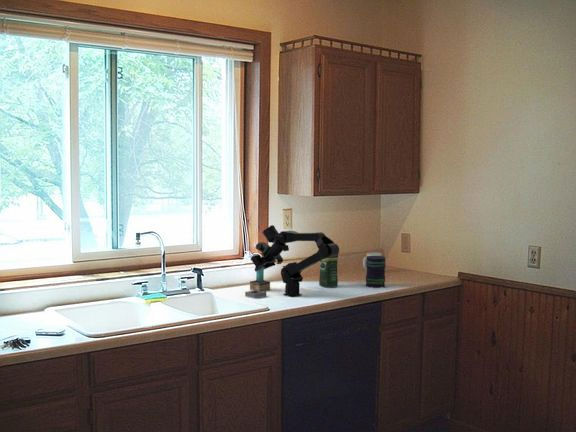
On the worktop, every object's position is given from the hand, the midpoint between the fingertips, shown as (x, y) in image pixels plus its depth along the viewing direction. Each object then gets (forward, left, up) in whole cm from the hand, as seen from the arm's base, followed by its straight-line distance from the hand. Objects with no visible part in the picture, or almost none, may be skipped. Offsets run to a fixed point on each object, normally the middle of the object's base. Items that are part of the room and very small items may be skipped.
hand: (257, 270), depth 318 cm
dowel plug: (-1, 0, -5) cm, 5 cm away
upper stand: (-1, 0, -9) cm, 10 cm away
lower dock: (-12, +12, -9) cm, 20 cm away
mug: (-2, -84, -10) cm, 85 cm away
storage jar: (-31, -52, -10) cm, 62 cm away
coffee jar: (-16, -33, -10) cm, 38 cm away
